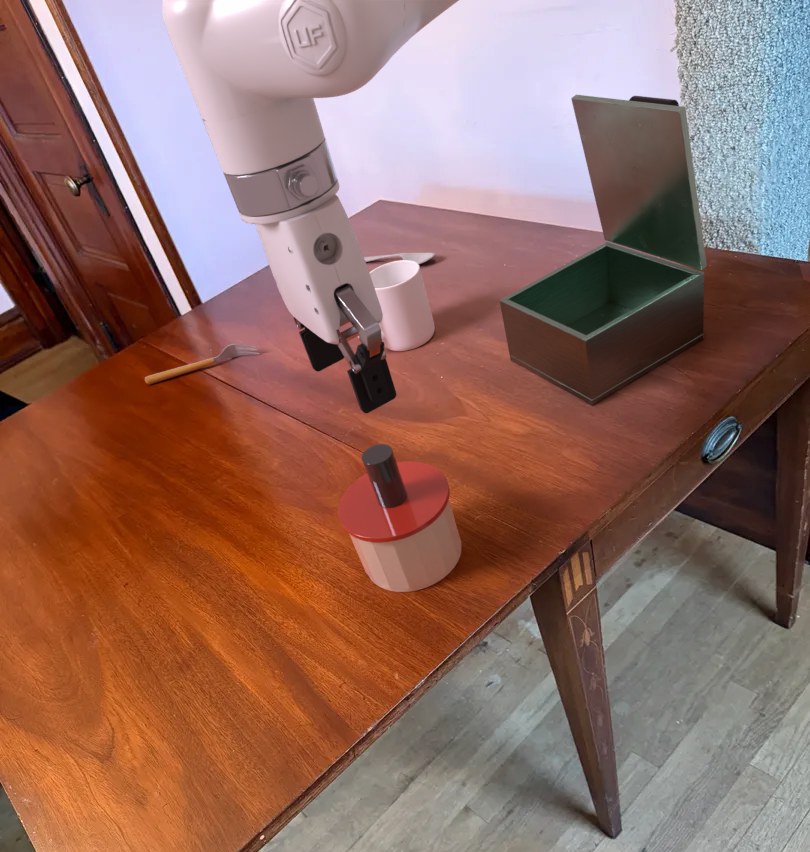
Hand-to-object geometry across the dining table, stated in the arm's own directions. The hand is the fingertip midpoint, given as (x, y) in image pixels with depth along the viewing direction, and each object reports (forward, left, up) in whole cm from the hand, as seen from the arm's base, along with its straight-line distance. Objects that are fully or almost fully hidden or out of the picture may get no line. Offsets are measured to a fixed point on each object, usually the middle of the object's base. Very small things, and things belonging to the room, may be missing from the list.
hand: (353, 383), depth 65 cm
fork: (+46, -43, -21) cm, 67 cm away
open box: (-18, -36, -21) cm, 45 cm away
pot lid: (0, 0, -14) cm, 14 cm away
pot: (0, 0, -21) cm, 21 cm away
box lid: (-23, -40, -3) cm, 46 cm away
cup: (+12, -44, -21) cm, 50 cm away
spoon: (+21, -73, -21) cm, 79 cm away
